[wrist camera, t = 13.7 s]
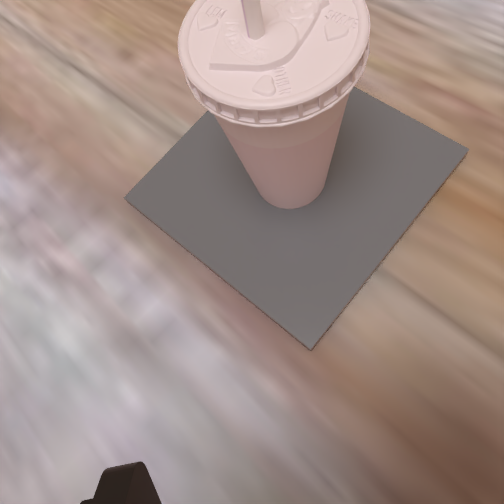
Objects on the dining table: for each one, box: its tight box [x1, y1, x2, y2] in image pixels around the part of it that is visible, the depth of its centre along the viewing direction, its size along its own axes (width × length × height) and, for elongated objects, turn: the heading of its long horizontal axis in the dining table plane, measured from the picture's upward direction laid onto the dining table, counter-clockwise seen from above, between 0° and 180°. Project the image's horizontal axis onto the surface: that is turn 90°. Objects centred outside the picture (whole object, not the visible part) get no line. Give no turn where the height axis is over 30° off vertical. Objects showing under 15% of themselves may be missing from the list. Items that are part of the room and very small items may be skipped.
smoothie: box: [178, 0, 370, 209], centre depth 17 cm, size 6×6×14 cm
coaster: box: [124, 87, 469, 351], centre depth 23 cm, size 13×13×1 cm
